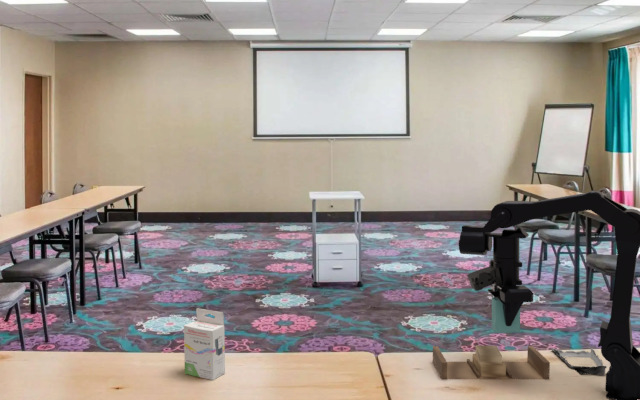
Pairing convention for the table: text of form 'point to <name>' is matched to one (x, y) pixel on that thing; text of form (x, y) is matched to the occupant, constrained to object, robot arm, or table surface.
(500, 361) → the offcut top
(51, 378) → the table surface
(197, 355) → the ink box
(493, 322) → the teal rectangular block
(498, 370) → the offcut low
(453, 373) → the rack
